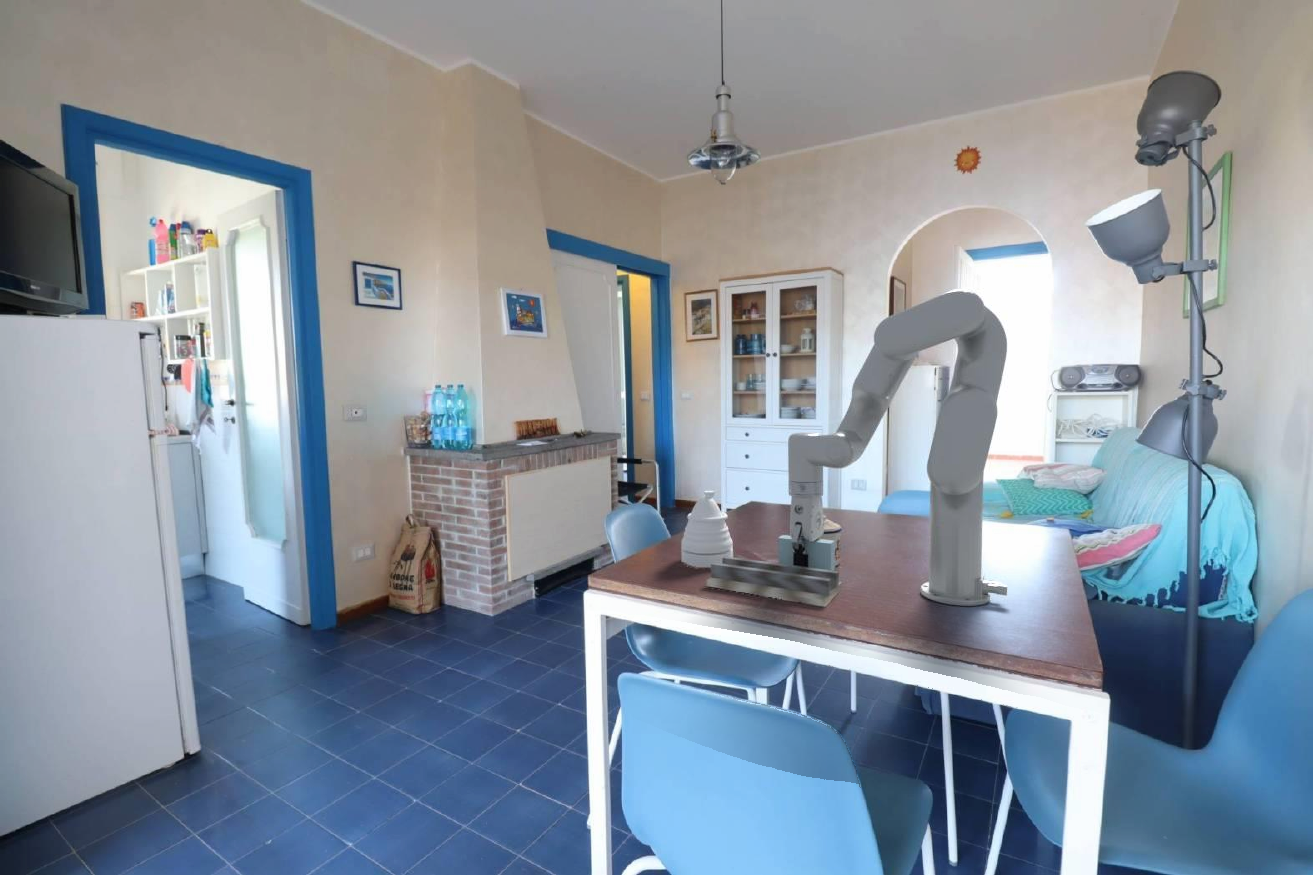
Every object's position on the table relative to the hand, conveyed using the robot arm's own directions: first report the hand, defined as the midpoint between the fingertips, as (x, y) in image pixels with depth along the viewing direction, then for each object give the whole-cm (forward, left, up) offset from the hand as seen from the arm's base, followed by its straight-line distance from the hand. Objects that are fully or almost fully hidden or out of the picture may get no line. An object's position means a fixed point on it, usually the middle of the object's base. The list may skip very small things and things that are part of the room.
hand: (806, 566), depth 139 cm
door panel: (0, 0, -3) cm, 3 cm away
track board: (+4, +10, -3) cm, 11 cm away
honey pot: (+26, -2, -3) cm, 26 cm away
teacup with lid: (+1, -15, -3) cm, 15 cm away
